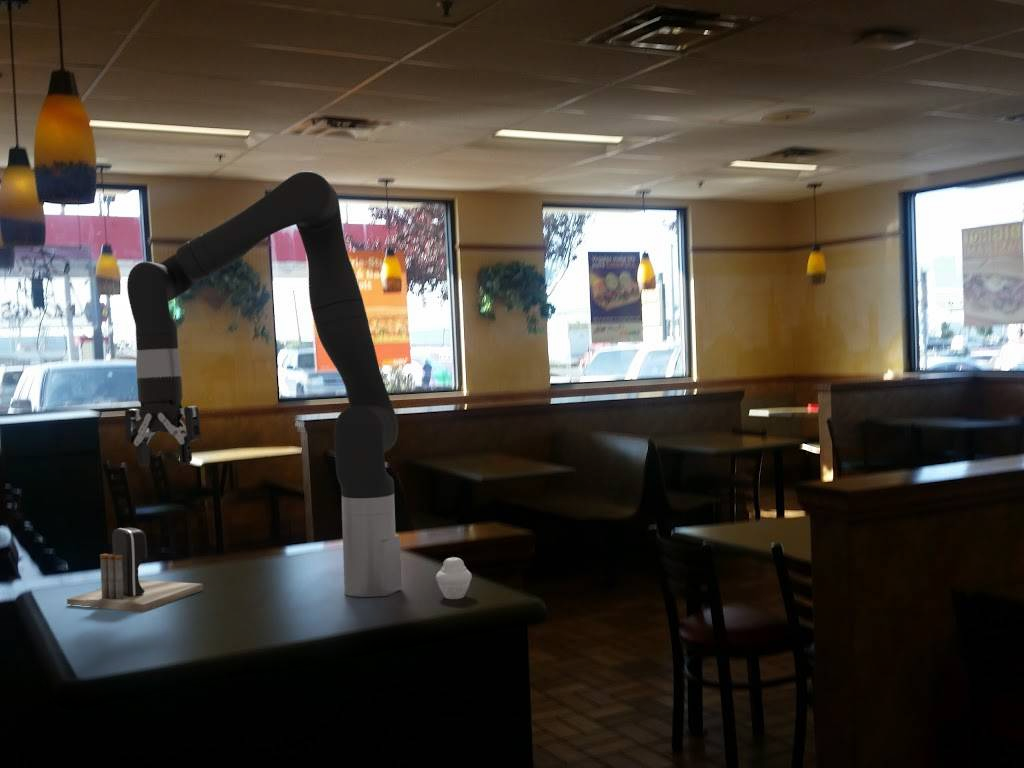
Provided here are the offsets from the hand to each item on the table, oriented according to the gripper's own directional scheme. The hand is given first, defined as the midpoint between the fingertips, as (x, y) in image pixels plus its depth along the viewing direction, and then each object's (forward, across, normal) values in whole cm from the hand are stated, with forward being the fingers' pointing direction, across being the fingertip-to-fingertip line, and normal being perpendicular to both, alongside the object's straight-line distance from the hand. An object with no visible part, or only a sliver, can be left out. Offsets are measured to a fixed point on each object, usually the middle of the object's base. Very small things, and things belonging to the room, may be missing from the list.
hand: (164, 465), depth 185 cm
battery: (+22, +4, +5) cm, 23 cm away
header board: (+23, +5, +4) cm, 24 cm away
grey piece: (+25, -51, -9) cm, 57 cm away
